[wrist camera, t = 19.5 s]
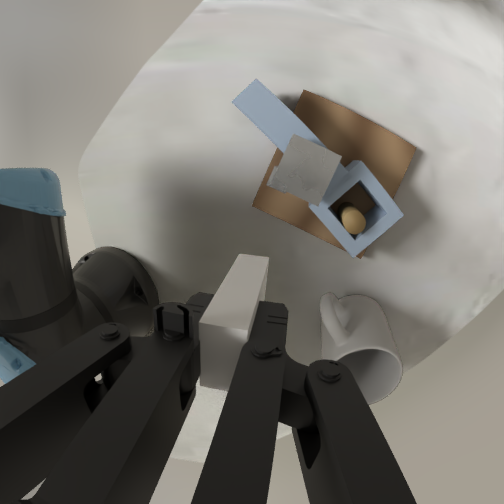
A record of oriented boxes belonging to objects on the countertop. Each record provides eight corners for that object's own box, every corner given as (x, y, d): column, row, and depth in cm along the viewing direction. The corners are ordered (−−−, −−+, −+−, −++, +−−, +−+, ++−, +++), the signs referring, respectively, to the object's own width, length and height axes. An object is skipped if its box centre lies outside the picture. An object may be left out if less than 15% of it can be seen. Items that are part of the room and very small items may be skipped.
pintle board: (254, 203, 34) (238, 216, 27) (304, 92, 29) (302, 74, 22) (359, 254, 33) (370, 280, 26) (412, 148, 28) (438, 146, 21)
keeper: (274, 179, 31) (264, 186, 24) (293, 137, 29) (288, 131, 22) (314, 198, 31) (316, 210, 24) (334, 156, 29) (342, 156, 22)
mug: (394, 329, 35) (414, 384, 25) (340, 359, 38) (344, 417, 28) (351, 258, 33) (367, 302, 23) (292, 295, 36) (284, 348, 26)
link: (390, 206, 29) (403, 215, 25) (346, 243, 31) (352, 258, 27) (275, 80, 27) (268, 67, 23) (232, 120, 30) (219, 114, 25)
